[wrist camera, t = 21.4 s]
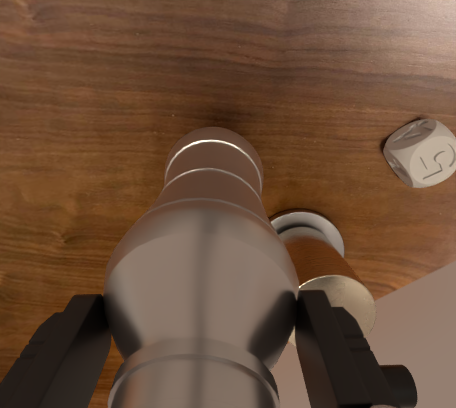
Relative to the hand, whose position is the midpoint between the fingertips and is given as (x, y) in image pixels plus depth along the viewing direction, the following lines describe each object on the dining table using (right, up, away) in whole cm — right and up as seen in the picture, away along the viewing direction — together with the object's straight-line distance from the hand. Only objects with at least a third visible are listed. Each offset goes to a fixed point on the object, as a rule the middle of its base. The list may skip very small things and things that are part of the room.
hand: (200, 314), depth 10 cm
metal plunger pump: (+9, -2, +29) cm, 31 cm away
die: (+20, +10, +25) cm, 34 cm away
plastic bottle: (0, +7, +14) cm, 16 cm away
